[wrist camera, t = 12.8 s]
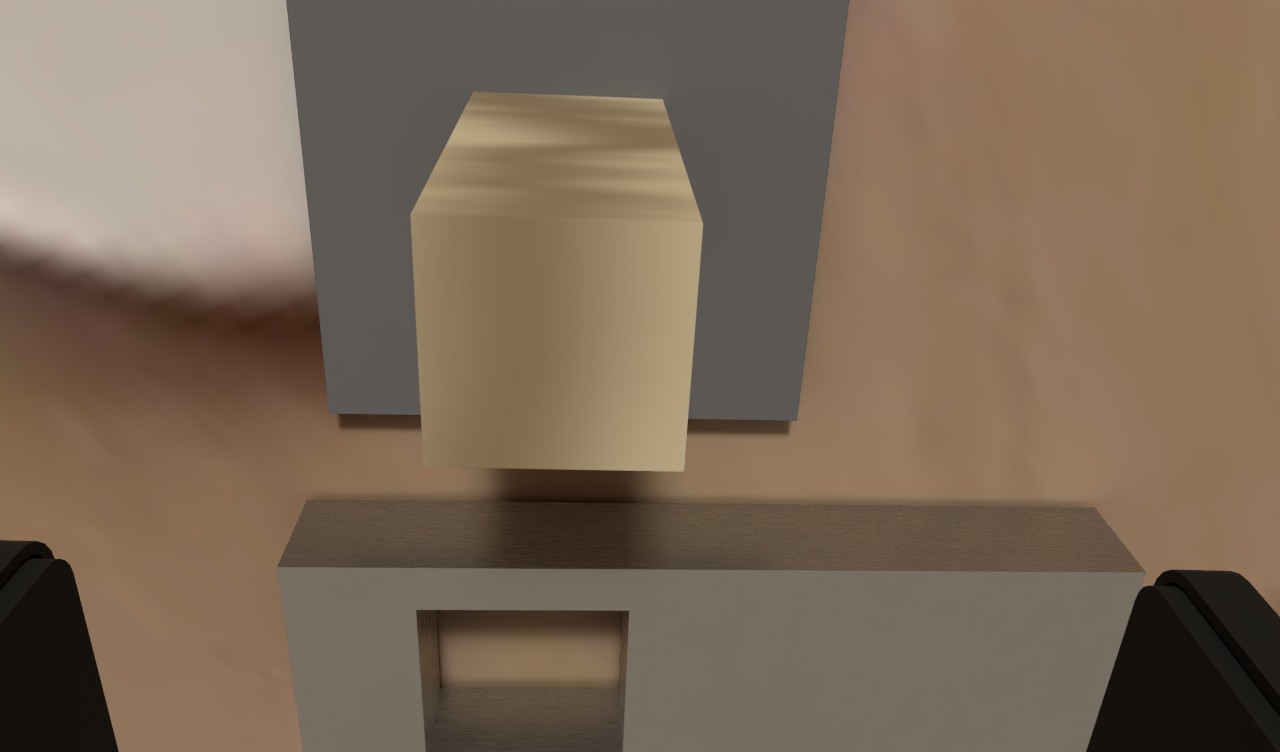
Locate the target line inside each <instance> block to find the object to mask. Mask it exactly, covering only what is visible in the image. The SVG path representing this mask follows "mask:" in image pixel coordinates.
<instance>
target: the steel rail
mask: <svg viewBox="0 0 1280 752" xmlns="http://www.w3.org/2000/svg"><path fill="white" fill-rule="evenodd" d="M277 570H278V577H279V584H280V591H281V598H282V605H283V613H284V620H285V627H286V634H287V641H288V648H289V655H290V663H291V670H292V677H293V684H294V691H295V698H296V705H297V712H298V720H299V727H300V734H301V741H302V748H303V752H1086V750H1087V747H1088V744H1089V741H1090V738H1091V735H1092V732H1093V729H1094V725H1095V722H1096V719H1097V716H1098V713H1099V710H1100V707H1101V704H1102V701H1103V698H1104V694H1105V691H1106V688H1107V685H1108V682H1109V679H1110V676H1111V673H1112V670H1113V667H1114V664H1115V660H1116V657H1117V654H1118V651H1119V648H1120V645H1121V642H1122V639H1123V636H1124V633H1125V630H1126V626H1127V623H1128V620H1129V617H1130V614H1131V611H1132V608H1133V605H1134V602H1135V599H1136V597H1137V595H1138V592H1139V591H1140V590H1141V587H1142V584H1143V581H1144V577H1145V574H1146V572H1145V571H1144V569H1143V568H1142V567H1141V566H1140V564H1139V563H1138V562H1137V560H1136V559H1135V558H1134V557H1133V555H1132V554H1131V553H1130V552H1129V550H1128V549H1127V548H1126V547H1125V545H1124V544H1123V543H1122V542H1121V540H1120V539H1119V538H1118V537H1117V535H1116V534H1115V533H1114V531H1113V530H1112V529H1111V528H1110V526H1109V525H1108V524H1107V523H1106V521H1105V520H1104V519H1103V518H1102V516H1101V515H1100V514H1099V513H1098V511H1097V510H1096V509H1095V508H1079V507H979V506H879V505H779V504H680V503H580V502H480V501H380V500H307V501H306V503H305V506H304V508H303V510H302V512H301V515H300V517H299V519H298V521H297V524H296V526H295V528H294V530H293V533H292V535H291V537H290V539H289V542H288V544H287V546H286V548H285V551H284V553H283V555H282V557H281V560H280V562H279V564H278V566H277ZM436 610H590V611H623V612H622V635H621V658H620V681H619V688H441V685H440V668H439V650H438V633H437V616H436Z"/></svg>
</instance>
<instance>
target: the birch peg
mask: <svg viewBox="0 0 1280 752" xmlns="http://www.w3.org/2000/svg"><path fill="white" fill-rule="evenodd" d="M410 217H411V236H412V255H413V274H414V293H415V313H416V332H417V351H418V370H419V389H420V409H421V428H422V447H423V466H424V467H450V468H507V469H565V470H622V471H679V472H684V463H685V450H686V437H687V425H688V412H689V399H690V387H691V374H692V361H693V348H694V336H695V323H696V310H697V297H698V285H699V272H700V259H701V247H702V234H703V222H702V219H701V215H700V212H699V209H698V206H697V203H696V200H695V197H694V194H693V191H692V188H691V185H690V182H689V179H688V175H687V172H686V169H685V166H684V163H683V160H682V157H681V154H680V151H679V148H678V145H677V142H676V139H675V135H674V132H673V129H672V126H671V123H670V120H669V117H668V114H667V111H666V108H665V105H664V102H663V99H647V98H622V97H597V96H572V95H547V94H522V93H497V92H473V93H472V95H471V97H470V99H469V101H468V103H467V105H466V107H465V109H464V111H463V113H462V115H461V117H460V119H459V121H458V123H457V125H456V126H455V128H454V130H453V132H452V134H451V136H450V138H449V140H448V142H447V144H446V146H445V148H444V150H443V152H442V154H441V156H440V158H439V160H438V162H437V164H436V165H435V167H434V169H433V171H432V173H431V175H430V177H429V179H428V181H427V183H426V185H425V187H424V189H423V191H422V193H421V195H420V197H419V199H418V201H417V203H416V204H415V206H414V208H413V210H412V212H411V214H410Z"/></svg>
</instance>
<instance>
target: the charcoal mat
mask: <svg viewBox="0 0 1280 752" xmlns="http://www.w3.org/2000/svg"><path fill="white" fill-rule="evenodd" d="M286 2H287V12H288V21H289V31H290V40H291V50H292V60H293V69H294V79H295V88H296V98H297V108H298V117H299V127H300V136H301V146H302V156H303V165H304V175H305V184H306V194H307V204H308V213H309V223H310V232H311V242H312V252H313V261H314V271H315V280H316V290H317V299H318V309H319V319H320V328H321V338H322V347H323V357H324V367H325V376H326V386H327V395H328V405H329V414H392V415H421V409H420V389H419V370H418V351H417V332H416V313H415V293H414V274H413V255H412V236H411V217H410V214H411V212H412V210H413V208H414V206H415V204H416V203H417V201H418V199H419V197H420V195H421V193H422V191H423V189H424V187H425V185H426V183H427V181H428V179H429V177H430V175H431V173H432V171H433V169H434V167H435V165H436V164H437V162H438V160H439V158H440V156H441V154H442V152H443V150H444V148H445V146H446V144H447V142H448V140H449V138H450V136H451V134H452V132H453V130H454V128H455V126H456V125H457V123H458V121H459V119H460V117H461V115H462V113H463V111H464V109H465V107H466V105H467V103H468V101H469V99H470V97H471V95H472V93H473V92H497V93H522V94H547V95H572V96H597V97H622V98H647V99H663V102H664V105H665V108H666V111H667V114H668V117H669V120H670V123H671V126H672V129H673V132H674V135H675V139H676V142H677V145H678V148H679V151H680V154H681V157H682V160H683V163H684V166H685V169H686V172H687V175H688V179H689V182H690V185H691V188H692V191H693V194H694V197H695V200H696V203H697V206H698V209H699V212H700V215H701V219H702V222H703V234H702V247H701V259H700V272H699V285H698V297H697V310H696V323H695V336H694V348H693V361H692V374H691V387H690V399H689V412H688V419H727V420H794V421H797V415H798V407H799V399H800V391H801V383H802V375H803V367H804V359H805V351H806V343H807V335H808V327H809V319H810V311H811V303H812V295H813V287H814V279H815V271H816V262H817V254H818V246H819V238H820V230H821V222H822V214H823V206H824V198H825V190H826V182H827V174H828V166H829V158H830V150H831V142H832V134H833V126H834V118H835V110H836V102H837V94H838V86H839V78H840V70H841V62H842V54H843V46H844V38H845V30H846V22H847V14H848V6H849V0H286Z"/></svg>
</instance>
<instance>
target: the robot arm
mask: <svg viewBox="0 0 1280 752" xmlns="http://www.w3.org/2000/svg"><path fill="white" fill-rule="evenodd" d="M0 752H119V751H118V747H117V743H116V740H115V736H114V732H113V728H112V724H111V720H110V716H109V712H108V708H107V704H106V700H105V696H104V692H103V688H102V684H101V680H100V676H99V672H98V668H97V664H96V660H95V657H94V653H93V649H92V645H91V641H90V637H89V633H88V629H87V625H86V621H85V617H84V613H83V609H82V605H81V601H80V597H79V593H78V589H77V585H76V581H75V578H74V574H73V571H72V569H71V566H70V565H69V564H68V563H67V562H66V561H65V560H62V559H54V556H53V554H52V551H51V550H50V549H49V548H48V547H47V545H46V544H44V543H41V542H38V541H5V540H0ZM1086 752H1280V617H1279V616H1278V615H1277V613H1276V612H1275V611H1274V610H1273V609H1272V608H1271V606H1270V605H1269V604H1268V603H1267V602H1266V601H1265V600H1264V598H1263V597H1262V596H1261V595H1260V594H1259V593H1258V592H1257V590H1256V589H1255V588H1254V587H1253V586H1252V585H1251V584H1250V582H1249V581H1248V580H1246V579H1245V578H1244V577H1243V576H1242V575H1240V574H1238V573H1235V572H1232V571H1203V570H1169V571H1165V572H1163V573H1162V574H1161V575H1160V576H1159V577H1158V578H1157V580H1156V582H1155V584H1154V586H1146V587H1143V588H1142V589H1141V590H1140V591H1139V592H1138V595H1137V597H1136V599H1135V602H1134V605H1133V608H1132V611H1131V614H1130V617H1129V620H1128V623H1127V626H1126V630H1125V633H1124V636H1123V639H1122V642H1121V645H1120V648H1119V651H1118V654H1117V657H1116V660H1115V664H1114V667H1113V670H1112V673H1111V676H1110V679H1109V682H1108V685H1107V688H1106V691H1105V694H1104V698H1103V701H1102V704H1101V707H1100V710H1099V713H1098V716H1097V719H1096V722H1095V725H1094V729H1093V732H1092V735H1091V738H1090V741H1089V744H1088V747H1087V750H1086Z"/></svg>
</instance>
